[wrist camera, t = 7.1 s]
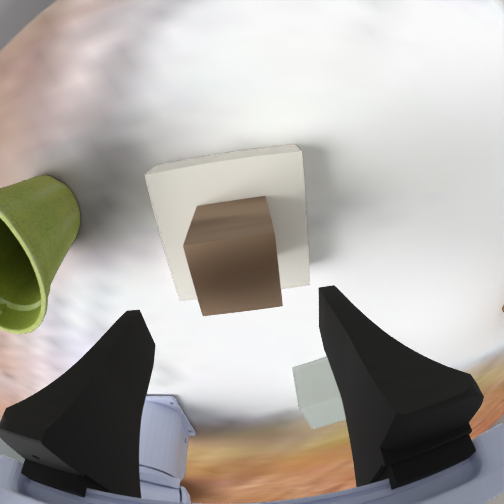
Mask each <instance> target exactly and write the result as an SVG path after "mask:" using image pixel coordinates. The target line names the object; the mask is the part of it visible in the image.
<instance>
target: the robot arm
mask: <svg viewBox="0 0 504 504" xmlns="http://www.w3.org/2000/svg"><path fill="white" fill-rule="evenodd" d="M319 328H320V333H321V337H322V342H323V346H324V350H325V353H326V355H327V358H328V361H329V364H330V367H331V370H332V372H333V375H334V378H335V381H336V384H337V387H338V389H339V392H340V396H341V399H342V403H343V408H344V412H345V417H346V422H347V427H348V432H349V437H350V443H351V449H352V455H353V462H354V469H355V477H356V486H357V487H356V488H352V489H348V490H343V491H338V492H334V493H329V494H323V495H318V496H312V497H305V498H298V499H291V500H282V501H272V502H260V503H241V504H485V503H486V502H488V501H490V500H491V499H493V498H494V497H496V496H498V495H499V494H501V493H502V492H504V424H503V423H501V424H499V425H497V426H495V427H493V428H492V429H490V430H488V431H486V432H484V433H482V434H481V435H479V436H477V437H476V438H474V439H473V440H471V438H470V436H469V434H470V433H471V432H472V429H471V427H470V425H469V421H470V420H471V419H472V417H473V416H474V415H475V413H476V412H477V411H478V409H479V408H480V406H481V404H482V402H483V398H484V396H483V394H482V392H481V391H480V389H479V387H478V385H477V383H476V382H475V380H474V379H473V377H472V376H471V374H468V373H465V372H462V371H459V370H456V369H453V368H450V367H447V366H445V365H442V364H440V363H438V362H435V361H433V360H431V359H429V358H427V357H425V356H423V355H421V354H419V353H417V352H415V351H413V350H412V349H410V348H408V347H406V346H405V345H403V344H402V343H400V342H399V341H397V340H396V339H394V338H393V337H391V336H390V335H388V334H387V333H386V332H384V331H383V330H382V329H380V328H379V327H378V326H377V325H376V324H374V323H373V322H372V321H371V320H370V319H368V318H367V317H366V316H365V315H364V314H363V313H362V312H361V311H360V310H359V309H358V308H356V307H355V306H354V305H353V304H352V303H351V302H350V301H349V300H348V299H347V298H346V297H345V296H344V295H343V294H342V293H341V291H340V290H339V289H338V288H337V287H335V286H334V285H333V286H327V287H321V288H319ZM154 355H155V343H154V341H153V339H152V337H151V334H150V332H149V330H148V328H147V326H146V323H145V321H144V319H143V317H142V314H141V312H140V310H132V311H126V312H125V313H124V314H123V315H122V316H121V317H120V318H119V319H118V320H117V321H116V322H115V323H114V324H113V325H112V327H111V328H110V329H109V330H108V331H107V332H106V333H105V334H104V335H103V336H102V337H101V338H100V340H99V341H98V342H97V343H96V344H95V345H94V346H93V347H92V348H91V349H90V350H89V351H88V352H87V353H86V354H85V355H84V356H83V357H82V358H81V359H80V360H79V361H78V362H77V363H76V364H75V365H73V366H72V367H71V368H70V369H69V370H68V371H66V372H65V373H64V374H63V375H61V376H60V377H59V378H57V379H56V380H55V381H53V382H52V383H51V384H49V385H48V386H46V387H45V388H43V389H42V390H40V391H39V392H37V393H35V394H34V395H32V396H30V397H28V398H27V399H25V400H23V401H21V402H19V403H16V404H14V405H12V406H10V407H8V408H6V410H5V412H4V414H3V417H2V419H1V421H0V438H1V439H2V440H3V441H4V442H5V443H6V444H7V445H9V446H10V447H11V448H12V449H13V450H15V451H16V452H17V453H18V454H20V455H21V456H22V457H23V458H25V461H24V464H22V463H21V462H19V461H17V460H15V459H12V458H10V457H7V456H5V455H1V457H0V504H199V503H191V502H190V495H189V493H188V492H187V490H186V489H185V487H183V486H180V481H181V480H182V479H183V477H184V475H185V472H186V463H187V451H188V440H189V436H195V435H196V432H195V430H194V428H193V427H192V425H191V424H190V422H189V420H188V419H187V417H186V416H185V414H184V412H183V411H182V409H181V407H180V406H179V404H178V402H177V401H176V399H175V398H174V397H173V396H146V394H147V390H148V386H149V382H150V378H151V373H152V369H153V364H154Z"/></svg>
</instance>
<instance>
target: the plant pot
mask: <svg viewBox="0 0 504 504" xmlns="http://www.w3.org/2000/svg"><path fill="white" fill-rule="evenodd" d="M79 226H80V210H79V206H78V203H77V201H76V198H75V196H74V195H73V193H72V192H71V190H70V189H69V188H68V187H67V186H66V185H65V184H64V183H62V182H60V181H58V180H56V179H54V178H53V177H51V176H48V175H41V176H37V177H34V178H31V179H27V180H24V181H22V182H19V183H16V184H13V185H10V186H6V187H3V188H0V329H2V330H4V331H6V332H9V333H13V334H27V333H30V332H32V331H34V330H35V329H37V328H38V327H39V326H40V325H41V323H42V321H43V319H44V317H45V315H46V311H47V303H48V295H49V292H50V285H51V283H52V281H53V278H54V276H55V274H56V272H57V270H58V268H59V267H60V265H61V263H62V261H63V259H64V257H65V255H66V254H67V252H68V250H69V249H70V247H71V245H72V243H73V242H74V240H75V238H76V236H77V234H78V230H79Z"/></svg>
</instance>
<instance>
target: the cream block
mask: <svg viewBox="0 0 504 504" xmlns="http://www.w3.org/2000/svg"><path fill="white" fill-rule="evenodd" d="M144 176H145V180H146V184H147V188H148V193H149V196H150V200H151V204H152V208H153V212H154V216H155V219H156V223H157V227H158V230H159V234H160V238H161V241H162V245H163V248H164V252H165V255H166V258H167V262H168V265H169V268H170V272H171V275H172V278H173V281H174V284H175V287H176V291H177V294H178V297H179V300H180V301H184V300H193V299H198V298H197V295H196V291H195V288H194V284H193V281H192V277H191V274H190V270H189V267H188V263H187V259H186V256H185V252H184V248H183V244H184V241H185V238H186V235H187V232H188V229H189V227H190V224H191V221H192V218H193V215H194V212H195V210H196V207H197V206H200V205H206V204H213V203H219V202H226V201H232V200H239V199H246V198H253V197H260V196H266V200H267V204H268V208H269V212H270V216H271V220H272V224H273V228H274V232H275V239H276V248H277V257H278V266H279V276H280V285H281V289H285V288H293V287H300V286H307V285H310V273H309V248H308V229H307V211H306V196H305V182H304V169H303V157H302V151H301V150H300V149H299V148H298V147H297V146H296V145H295V144H291V145H281V146H272V147H264V148H256V149H248V150H241V151H234V152H227V153H220V154H214V155H208V156H202V157H196V158H191V159H185V160H180V161H175V162H169V163H164V164H160V165H155V166H154V167H153V168H152V169H151V170H150V171H149V172H147V173H146V174H145V175H144Z"/></svg>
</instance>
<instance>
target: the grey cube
mask: <svg viewBox="0 0 504 504" xmlns="http://www.w3.org/2000/svg"><path fill="white" fill-rule="evenodd" d="M292 369H293V375H294V381H295V387H296V393H297V399H298V406H299V409H300V411H301V412H302V414H303V416H304V417H305V419H306V420H307V422H308V423H309V425H310V427H311V428H312V430H313V429H316V428H320V427H323V426H326V425H330V424H333V423H336V422H339V421H343V420H346V417H345V412H344V408H343V403H342V399H341V396H340V392H339V389H338V387H337V384H336V381H335V378H334V375H333V372H332V370H331V367H330V364H329V361H328V358H327V356H326V357H323V358H320V359H317V360H314V361H311V362H308V363H305V364H302V365H299V366H296V367H293V368H292Z"/></svg>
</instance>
